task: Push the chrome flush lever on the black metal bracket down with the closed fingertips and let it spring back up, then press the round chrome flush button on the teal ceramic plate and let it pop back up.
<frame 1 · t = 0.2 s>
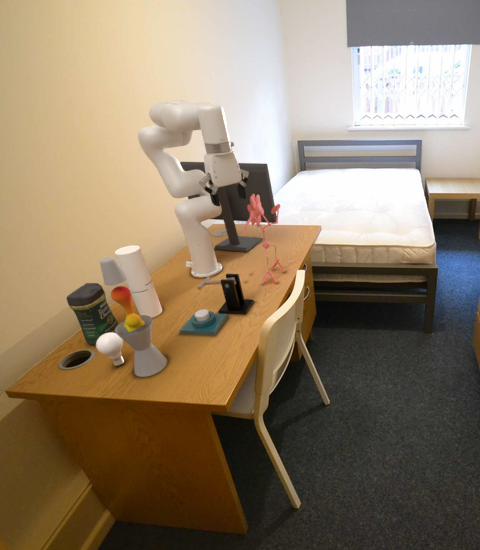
hand: (230, 201, 121), 37 cm above the table, tool pointing down, fingers open, 9 cm apart
lever bracket: (237, 307, 132), on the table
coffee jar: (105, 337, 119), on the table
computer monitor: (239, 245, 182), on the table
lightbulb: (119, 364, 108), on the table
cylindrical container: (151, 313, 131), on the table
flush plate: (205, 325, 123), on the table
lava lamp: (151, 366, 107), on the table
flush button: (202, 315, 121), point 4 cm above the table, slide at 0.1 cm
flush lever: (218, 282, 127), point 11 cm above the table, hinge at -5.3°
figurine: (265, 276, 152), on the table
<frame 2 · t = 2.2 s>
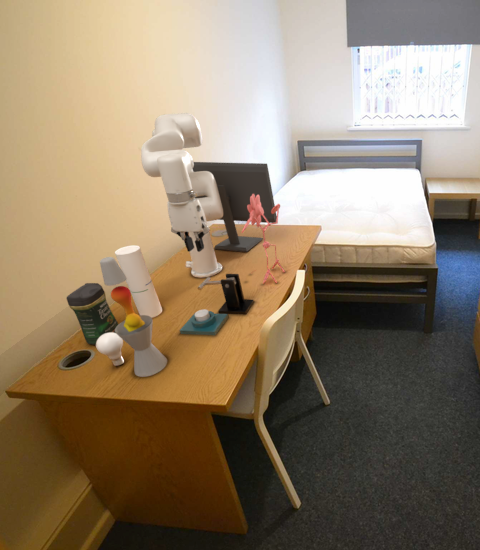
hand: (195, 249, 122), 23 cm above the table, tool pointing down, fingers closed
flush lever: (218, 282, 127), point 11 cm above the table, hinge at -6.0°
everything else where it was.
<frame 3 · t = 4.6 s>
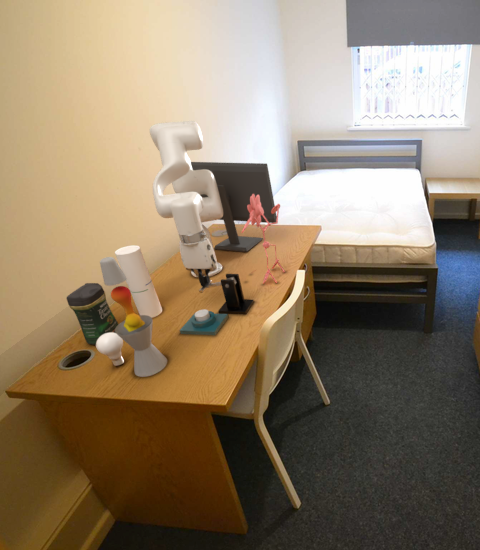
hand: (205, 284, 128), 10 cm above the table, tool pointing down, fingers closed
flush lever: (218, 283, 128), point 10 cm above the table, hinge at -12.5°, touching gripper
everything else where it was.
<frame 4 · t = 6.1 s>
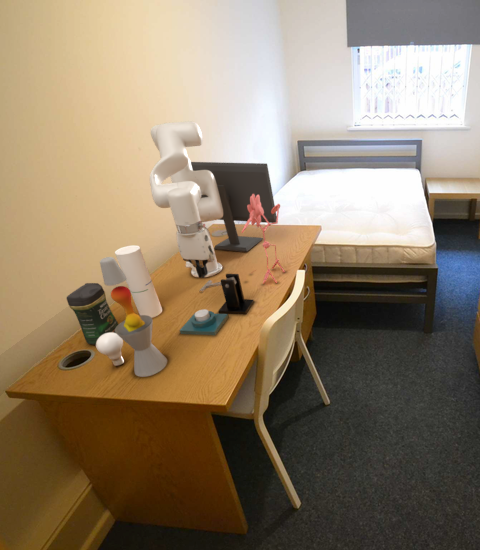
hand: (203, 275, 127), 13 cm above the table, tool pointing down, fingers closed
flush lever: (218, 284, 128), point 10 cm above the table, hinge at -13.4°
everything else where it was.
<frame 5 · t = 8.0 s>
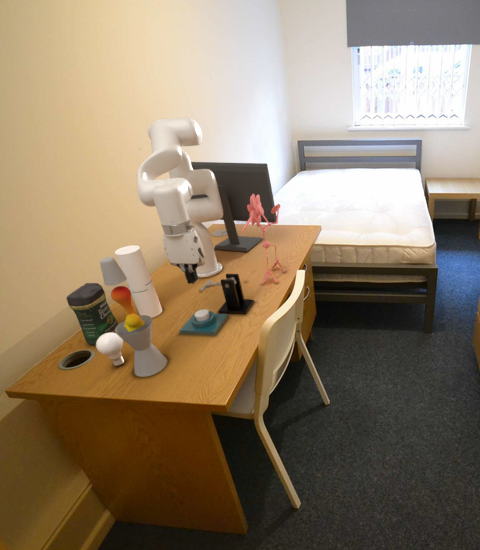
hand: (193, 281, 116), 17 cm above the table, tool pointing down, fingers closed
flush lever: (218, 283, 128), point 10 cm above the table, hinge at -12.6°
everything else where it was.
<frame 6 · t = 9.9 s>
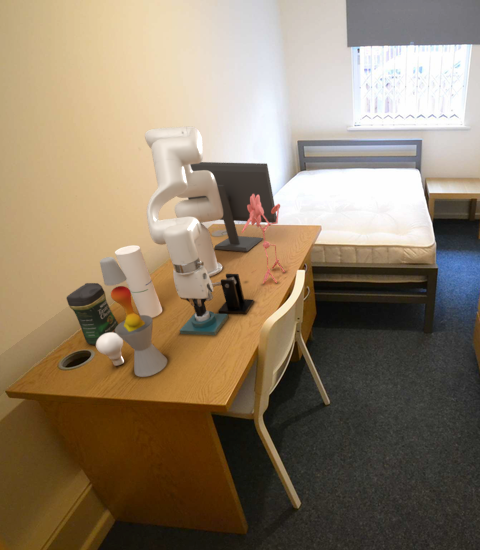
hand: (201, 313, 121), 5 cm above the table, tool pointing down, fingers closed
flush button: (202, 316, 121), point 4 cm above the table, slide at -0.2 cm, touching gripper
everything else where it was.
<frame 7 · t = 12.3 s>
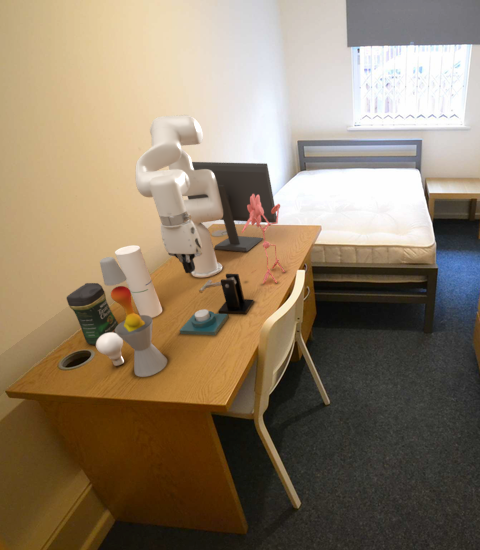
hand: (190, 271, 119), 18 cm above the table, tool pointing down, fingers closed
flush button: (202, 315, 121), point 4 cm above the table, slide at 0.1 cm
everything else where it was.
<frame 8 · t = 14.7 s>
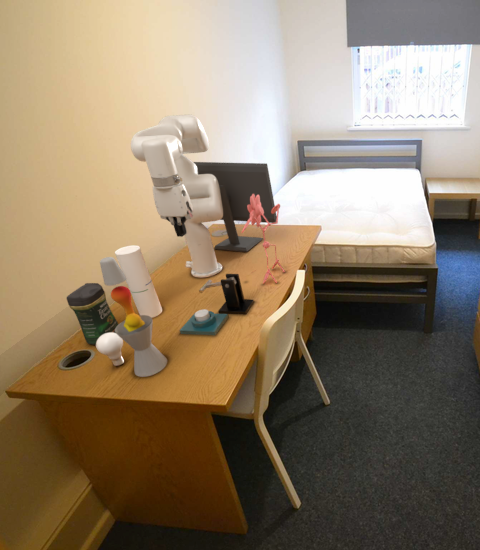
hand: (182, 235, 123), 27 cm above the table, tool pointing down, fingers closed
nothing on the table moved.
at the end: flush lever reached -22° during the clip, -13° at the end; flush button pushed in 1.0 cm at the most during the clip, back to where it started at the end; flush button slide at 0.1 cm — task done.
